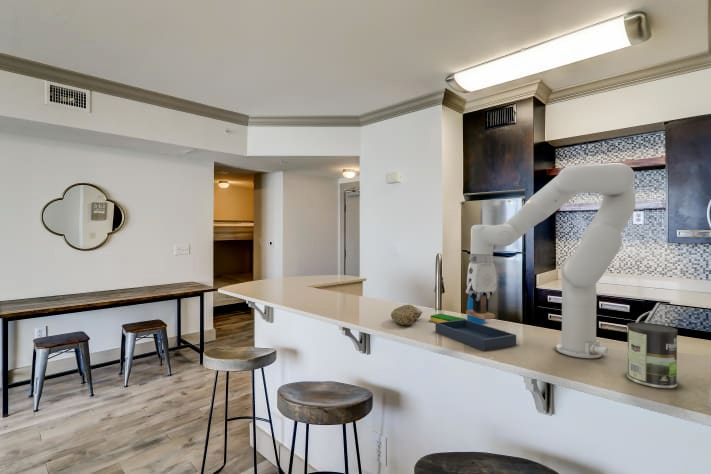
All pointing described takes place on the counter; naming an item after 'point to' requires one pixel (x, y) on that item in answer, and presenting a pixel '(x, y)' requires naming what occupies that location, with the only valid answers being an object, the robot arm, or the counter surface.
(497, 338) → the baking dish
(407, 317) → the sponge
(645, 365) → the coffee can
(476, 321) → the bottle
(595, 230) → the robot arm
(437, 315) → the dish sponge
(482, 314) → the two-tone wood block
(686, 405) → the counter surface
